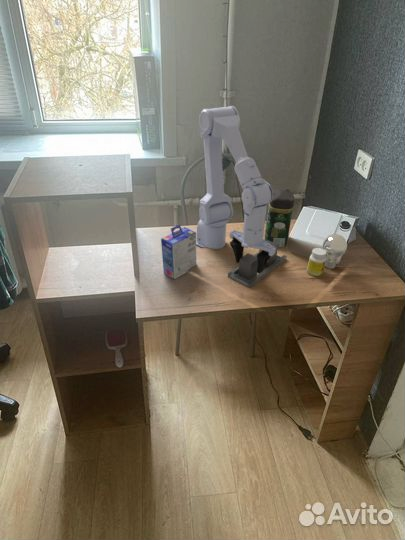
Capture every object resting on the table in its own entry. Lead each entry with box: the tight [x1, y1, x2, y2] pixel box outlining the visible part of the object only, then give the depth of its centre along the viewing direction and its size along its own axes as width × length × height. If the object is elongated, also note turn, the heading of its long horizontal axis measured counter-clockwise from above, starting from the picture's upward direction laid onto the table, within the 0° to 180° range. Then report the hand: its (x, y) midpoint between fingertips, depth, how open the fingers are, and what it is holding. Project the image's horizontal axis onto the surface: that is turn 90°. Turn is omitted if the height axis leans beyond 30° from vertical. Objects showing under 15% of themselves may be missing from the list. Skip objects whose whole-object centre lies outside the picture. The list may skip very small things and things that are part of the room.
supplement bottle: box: [306, 247, 326, 277], centre depth 118 cm, size 5×5×8 cm
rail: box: [227, 251, 287, 289], centre depth 120 cm, size 8×20×2 cm, turn 139°
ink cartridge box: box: [160, 224, 197, 280], centre depth 116 cm, size 10×6×14 cm, turn 137°
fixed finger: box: [258, 240, 279, 266], centre depth 122 cm, size 4×5×6 cm
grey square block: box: [238, 252, 258, 281], centre depth 115 cm, size 4×5×6 cm
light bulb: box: [322, 233, 348, 270], centre depth 119 cm, size 7×7×12 cm
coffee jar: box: [264, 187, 295, 248], centre depth 130 cm, size 10×8×19 cm
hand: (249, 266), depth 116 cm, fingers open, 7 cm apart
